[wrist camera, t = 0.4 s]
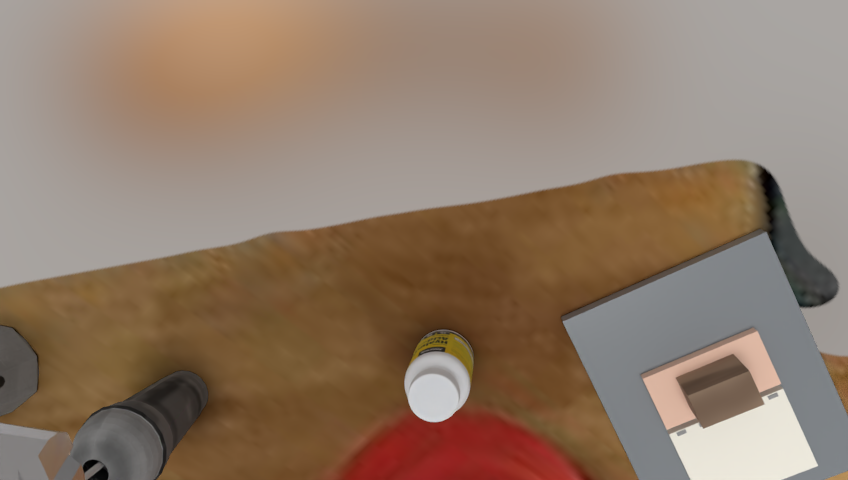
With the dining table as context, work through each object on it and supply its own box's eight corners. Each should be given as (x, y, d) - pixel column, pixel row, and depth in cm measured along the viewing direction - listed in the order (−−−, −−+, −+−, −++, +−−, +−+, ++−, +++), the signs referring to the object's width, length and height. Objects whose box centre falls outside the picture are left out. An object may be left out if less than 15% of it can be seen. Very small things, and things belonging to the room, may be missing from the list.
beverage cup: (135, 402, 69) (-11, 517, 49) (170, 342, 67) (34, 435, 48) (200, 443, 69) (79, 574, 49) (235, 383, 67) (126, 494, 48)
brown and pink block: (776, 379, 60) (801, 403, 55) (664, 424, 62) (678, 451, 57) (753, 327, 60) (775, 346, 55) (640, 374, 61) (652, 397, 56)
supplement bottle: (451, 316, 64) (442, 352, 54) (485, 365, 64) (483, 409, 55) (402, 348, 65) (385, 388, 55) (436, 396, 65) (425, 444, 56)
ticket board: (859, 454, 62) (875, 469, 60) (663, 528, 65) (670, 545, 63) (759, 229, 60) (771, 234, 57) (561, 316, 63) (563, 325, 60)
